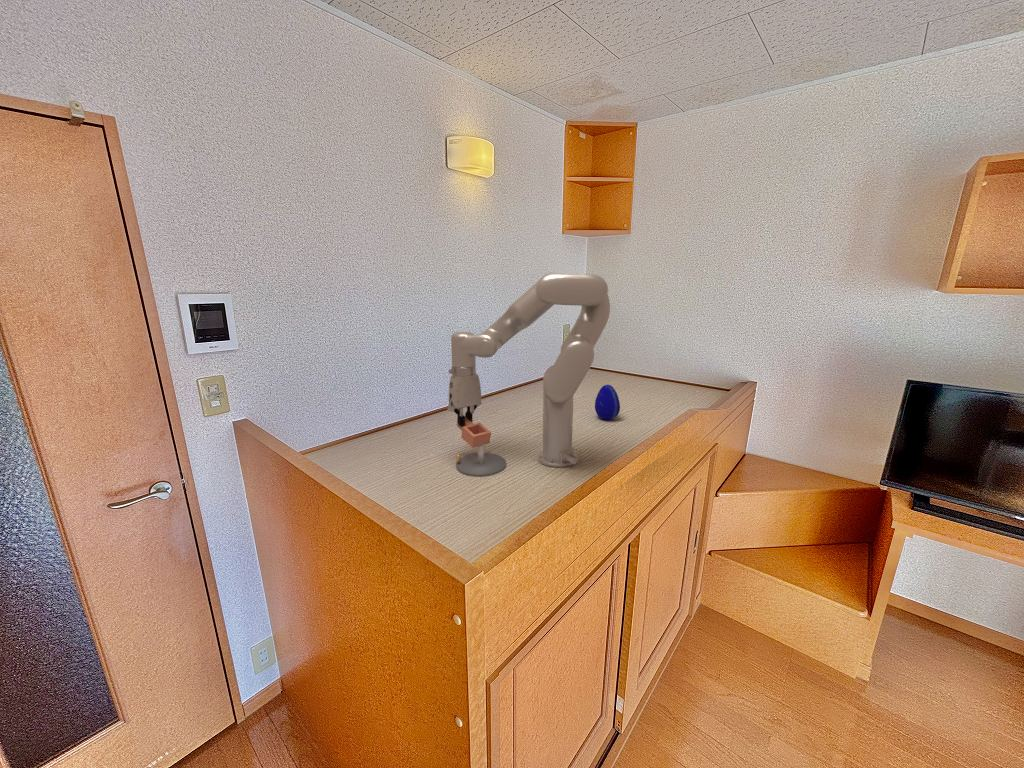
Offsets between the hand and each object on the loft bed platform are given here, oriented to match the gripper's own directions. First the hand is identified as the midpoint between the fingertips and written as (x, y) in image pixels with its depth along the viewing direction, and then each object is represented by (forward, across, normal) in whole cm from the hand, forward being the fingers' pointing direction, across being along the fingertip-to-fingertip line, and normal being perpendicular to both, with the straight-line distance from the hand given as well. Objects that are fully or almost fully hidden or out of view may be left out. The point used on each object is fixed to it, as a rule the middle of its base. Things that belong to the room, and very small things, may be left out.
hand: (465, 425), depth 136 cm
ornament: (+11, +67, -4) cm, 68 cm away
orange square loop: (+3, 0, -3) cm, 4 cm away
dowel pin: (+11, -6, -5) cm, 13 cm away
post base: (+11, 0, -9) cm, 14 cm away
